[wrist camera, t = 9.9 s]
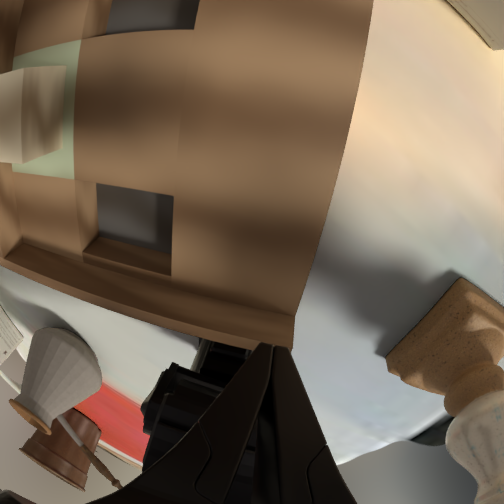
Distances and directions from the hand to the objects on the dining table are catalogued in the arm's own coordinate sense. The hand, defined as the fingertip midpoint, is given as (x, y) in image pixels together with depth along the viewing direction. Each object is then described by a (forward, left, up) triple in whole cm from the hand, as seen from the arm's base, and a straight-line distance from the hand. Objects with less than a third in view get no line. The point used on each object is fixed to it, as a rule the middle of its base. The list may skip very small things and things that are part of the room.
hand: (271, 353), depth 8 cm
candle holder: (-9, -19, -13) cm, 25 cm away
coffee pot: (-28, +19, -13) cm, 36 cm away
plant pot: (-56, +33, -13) cm, 66 cm away
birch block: (+5, +19, -10) cm, 22 cm away
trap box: (+5, +11, -13) cm, 18 cm away
